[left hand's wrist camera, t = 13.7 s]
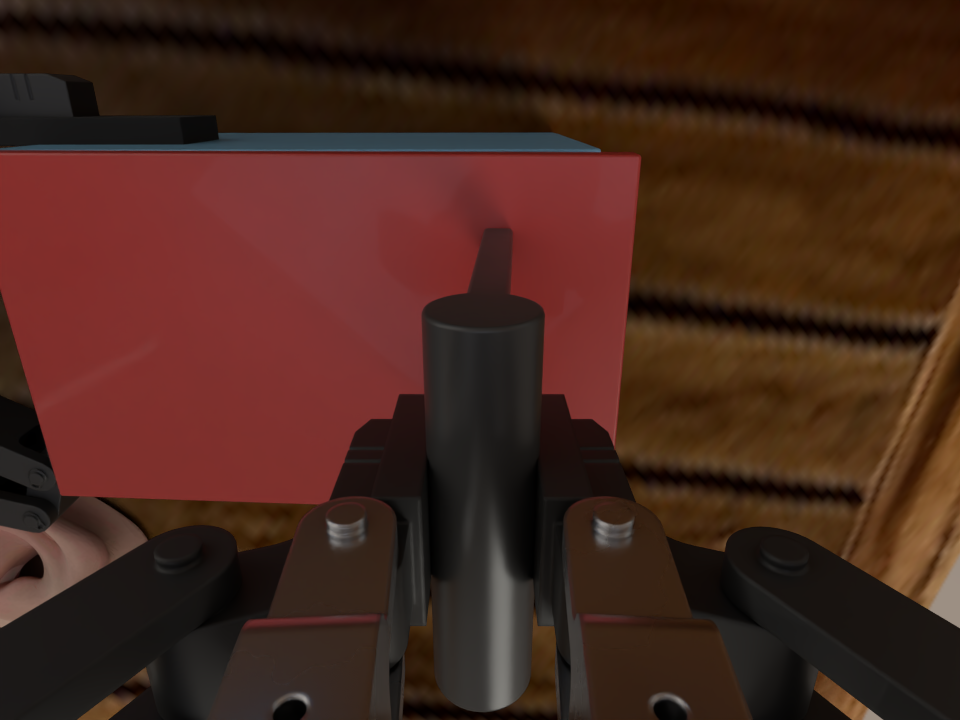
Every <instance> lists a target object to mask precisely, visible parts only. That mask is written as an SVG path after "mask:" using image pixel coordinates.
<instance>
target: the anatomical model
mask: <svg viewBox="0 0 960 720" xmlns="http://www.w3.org/2000/svg"><path fill="white" fill-rule="evenodd" d="M146 541H148V540H147V538H146V536H145V535H144V533H143V532H142V531H141V530H140V529H139V528H138V526H136V525H135V524H134V523H133V522H132V521H130V520H129V519H128V518H126V517H125V516H123V515H122V514H121V513H119V512H118V511H116V510H115V509H113V508H112V507H110V506H108V505H107V504H105V503H103V502H102V501H100V500H98V499H96V498H95V497H84V496H80V497H79V498H78V499H77V500H76V501H75V502H74V503H73V504H72V505H71V506H70V507H69V508H68V509H67V510H66V511H65V512H64V513H63V514H62V515H61V516H60V517H59V518H58V519H57V520H56V521H55V522H54V523H53V524H52V525H51V526H50V527H49V528H48V529H47V530H46V531H44V532H41V533H32V532H28V531H23V530H18V529H13V528H9V527H4V526H0V627H1V628H2V627H3V626H5V625H7V624H8V623H10V622H12V621H13V620H15V619H17V618H18V617H20V616H22V615H24V614H25V613H27V612H29V611H30V610H32V609H34V608H35V607H37V606H39V605H40V604H42V603H44V602H45V601H47V600H49V599H50V598H52V597H54V596H56V595H57V594H59V593H61V592H62V591H64V590H66V589H67V588H69V587H71V586H72V585H74V584H76V583H77V582H79V581H81V580H82V579H84V578H86V577H88V576H89V575H91V574H93V573H94V572H96V571H98V570H99V569H101V568H103V567H104V566H106V565H108V564H109V563H111V562H113V561H114V560H116V559H118V558H120V557H121V556H123V555H125V554H126V553H128V552H130V551H131V550H133V549H135V548H136V547H138V546H140V545H141V544H143V543H145V542H146Z"/></svg>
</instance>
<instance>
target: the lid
mask: <svg viewBox="0 0 960 720" xmlns="http://www.w3.org/2000/svg"><path fill="white" fill-rule="evenodd" d="M640 166H641V156H640V155H639V154H636V153H634V152H419V151H115V150H0V291H1V294H2V298H3V301H4V305H5V308H6V311H7V315H8V318H9V322H10V325H11V328H12V332H13V335H14V339H15V342H16V345H17V349H18V352H19V356H20V359H21V362H22V366H23V369H24V373H25V376H26V379H27V383H28V386H29V390H30V393H31V396H32V400H33V403H34V407H35V410H36V413H37V417H38V420H39V424H40V427H41V431H42V434H43V437H44V441H45V444H46V448H47V451H48V454H49V458H50V461H51V465H52V468H53V471H54V475H55V478H56V482H57V485H58V488H59V492H60V494H61V495H62V496H84V497H113V498H143V499H173V500H203V501H233V502H263V503H293V504H322V503H324V502H327V501H329V499H330V496H331V494H332V491H333V489H334V486H335V483H336V481H337V478H338V476H339V473H340V470H341V468H342V465H343V463H344V460H345V457H346V455H347V452H348V450H349V447H350V444H351V441H352V439H353V436H354V434H355V432H356V431H357V430H358V429H359V428H361V427H362V426H363V425H364V424H365V423H367V422H368V421H369V420H370V419H392V418H393V414H394V410H395V407H396V403H397V400H398V396H399V394H424V401H425V428H426V452H427V462H428V490H429V518H430V545H431V573H432V574H431V589H432V616H433V643H434V670H435V678H436V682H437V684H438V687H439V688H440V690H441V692H442V693H443V694H444V695H445V697H446V698H447V699H449V700H450V701H451V702H452V703H454V704H455V705H457V706H459V707H461V708H464V709H466V710H470V711H476V712H490V711H496V710H500V709H502V708H505V707H507V706H509V705H511V704H512V703H513V702H515V701H516V700H517V699H518V698H519V697H520V696H521V695H522V694H523V692H524V691H525V689H526V688H527V686H528V683H529V681H530V676H531V656H532V631H533V606H534V586H533V556H534V531H535V505H536V479H537V459H538V457H539V453H540V429H541V404H542V394H564V395H565V399H566V402H567V405H568V409H569V412H570V416H571V419H593V420H594V421H595V422H597V423H598V424H599V425H600V426H601V427H603V428H604V429H605V430H606V431H608V433H609V435H610V438H611V440H612V443H613V445H614V450H615V443H616V432H617V421H618V410H619V398H620V387H621V376H622V365H623V354H624V343H625V332H626V321H627V310H628V299H629V288H630V277H631V266H632V255H633V244H634V233H635V222H636V211H637V200H638V188H639V177H640Z"/></svg>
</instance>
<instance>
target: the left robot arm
mask: <svg viewBox="0 0 960 720" xmlns="http://www.w3.org/2000/svg"><path fill="white" fill-rule="evenodd" d="M431 574H432V573H431V545H430V518H429V490H428V462H427V452H426V428H425V401H424V394H399V396H398V400H397V403H396V407H395V410H394V414H393V418H392V419H370V420H369V421H368V422H367V423H365V424H364V425H363V426H362V427H361V428H359V429H358V430H357V431H356V432H355V434H354V436H353V439H352V441H351V444H350V447H349V450H348V452H347V455H346V457H345V460H344V463H343V465H342V468H341V470H340V473H339V476H338V478H337V481H336V483H335V486H334V489H333V491H332V494H331V496H330V499H329V501H327V502H324V503H322V504H320V505H318V506H316V507H314V508H313V509H311V510H310V511H309V512H307V513H306V514H305V515H304V516H303V518H302V519H301V520H300V522H299V524H298V526H297V529H296V532H295V535H294V538H293V539H291V540H288V541H285V542H282V543H279V544H275V545H271V546H267V547H262V548H257V549H252V550H248V551H243V552H238V550H237V545H236V540H235V538H234V537H233V535H232V534H231V533H229V532H228V531H226V530H224V529H222V528H219V527H214V526H206V525H198V526H188V527H182V528H178V529H174V530H171V531H168V532H165V533H163V534H160V535H158V536H156V537H154V538H152V539H150V540H148V541H146V542H145V543H143V544H141V545H140V546H138V547H136V548H135V549H133V550H131V551H130V552H128V553H126V554H125V555H123V556H121V557H120V558H118V559H116V560H114V561H113V562H111V563H109V564H108V565H106V566H104V567H103V568H101V569H99V570H98V571H96V572H94V573H93V574H91V575H89V576H88V577H86V578H84V579H82V580H81V581H79V582H77V583H76V584H74V585H72V586H71V587H69V588H67V589H66V590H64V591H62V592H61V593H59V594H57V595H56V596H54V597H52V598H50V599H49V600H47V601H45V602H44V603H42V604H40V605H39V606H37V607H35V608H34V609H32V610H30V611H29V612H27V613H25V614H24V615H22V616H20V617H18V618H17V619H15V620H13V621H12V622H10V623H8V624H7V625H5V626H3V627H2V628H0V720H77V719H78V718H79V717H81V716H82V715H83V714H85V713H86V712H87V711H89V710H90V709H91V708H93V707H94V706H95V705H96V704H98V703H99V702H100V701H102V700H103V699H104V698H106V697H107V696H108V695H110V694H111V693H112V692H113V691H115V690H116V689H117V688H119V687H120V686H121V685H123V684H124V683H125V682H127V681H128V680H129V679H131V678H132V677H133V676H134V675H136V674H137V673H138V672H140V671H141V670H142V669H144V668H145V667H146V669H147V672H148V676H149V680H150V684H151V686H150V687H149V688H148V689H146V690H145V691H144V692H143V693H141V694H140V695H139V696H138V697H136V698H135V699H134V700H133V701H131V702H130V703H129V704H128V705H126V706H125V707H124V708H123V709H121V710H120V711H119V712H118V713H116V714H115V715H114V716H113V717H111V718H110V719H109V720H402V713H403V696H404V679H405V657H404V652H405V650H406V648H407V644H408V637H409V629H410V626H426V623H427V613H428V604H429V594H430V584H431ZM533 586H534V595H535V605H536V614H537V623H538V626H554V627H555V634H556V657H555V679H556V696H557V714H558V720H851V719H850V718H849V717H848V716H846V715H845V714H844V713H842V712H841V711H840V710H839V709H837V708H836V707H835V706H834V705H832V704H831V703H830V702H829V701H827V700H826V699H825V698H824V697H822V696H821V695H820V694H819V693H817V692H816V691H815V690H814V685H815V682H816V678H817V674H818V670H819V671H820V672H822V673H823V674H824V675H826V676H827V677H828V678H830V679H831V680H832V681H833V682H835V683H836V684H837V685H839V686H840V687H841V688H843V689H844V690H845V691H847V692H848V693H849V694H850V695H852V696H853V697H854V698H856V699H857V700H858V701H860V702H861V703H862V704H864V705H865V706H866V707H867V708H869V709H870V710H871V711H873V712H874V713H875V714H877V715H878V716H879V717H881V718H882V719H883V720H960V628H958V627H957V626H955V625H953V624H952V623H950V622H948V621H947V620H945V619H943V618H941V617H940V616H938V615H936V614H935V613H933V612H931V611H930V610H928V609H926V608H925V607H923V606H921V605H920V604H918V603H916V602H915V601H913V600H911V599H910V598H908V597H906V596H904V595H903V594H901V593H899V592H898V591H896V590H894V589H893V588H891V587H889V586H888V585H886V584H884V583H883V582H881V581H879V580H878V579H876V578H874V577H872V576H871V575H869V574H867V573H866V572H864V571H862V570H861V569H859V568H857V567H856V566H854V565H852V564H851V563H849V562H847V561H846V560H844V559H842V558H840V557H839V556H837V555H835V554H834V553H832V552H830V551H829V550H827V549H825V548H824V547H822V546H820V545H819V544H817V543H815V542H813V541H811V540H810V539H808V538H806V537H803V536H801V535H799V534H796V533H793V532H790V531H787V530H782V529H778V528H771V527H750V528H745V529H742V530H739V531H737V532H735V533H734V534H732V535H731V536H730V537H729V539H728V541H727V542H726V548H725V552H721V551H716V550H712V549H707V548H702V547H697V546H693V545H689V544H685V543H682V542H679V541H676V540H674V539H671V538H669V537H667V536H666V535H665V532H664V529H663V526H662V524H661V522H660V520H659V519H658V518H657V516H656V515H655V514H654V513H653V512H651V511H650V510H649V509H647V508H646V507H644V506H642V505H640V504H638V503H636V501H635V499H634V496H633V494H632V491H631V489H630V486H629V483H628V481H627V478H626V476H625V473H624V471H623V468H622V466H621V463H619V458H618V455H617V453H616V450H614V445H613V443H612V440H611V438H610V435H609V433H608V431H606V430H605V429H604V428H603V427H601V426H600V425H599V424H598V423H597V422H595V421H594V420H593V419H571V416H570V412H569V409H568V405H567V402H566V399H565V395H564V394H542V404H541V429H540V453H539V457H538V459H537V479H536V505H535V531H534V556H533Z"/></svg>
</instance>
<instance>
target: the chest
mask: <svg viewBox="0 0 960 720" xmlns="http://www.w3.org/2000/svg"><path fill="white" fill-rule="evenodd" d="M218 135H219V140H213V141H206V142H199V143H192V144H184V145H31V146H20V147H10V148H0V150H115V151H419V152H601V150H600V149H598V148H596V147H593V146H590V145H587V144H584V143H582V142H579V141H576V140H573V139H570V138H568V137H565V136H562V135H559V134H555V133H218Z"/></svg>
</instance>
